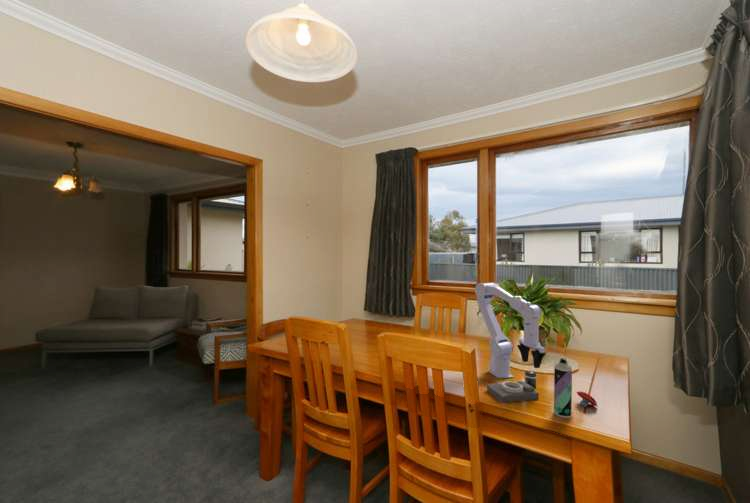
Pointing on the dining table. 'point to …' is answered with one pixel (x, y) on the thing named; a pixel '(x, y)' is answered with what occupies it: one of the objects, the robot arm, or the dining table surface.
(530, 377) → the lens
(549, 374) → the dining table surface
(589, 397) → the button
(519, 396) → the camera body
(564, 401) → the spray can
